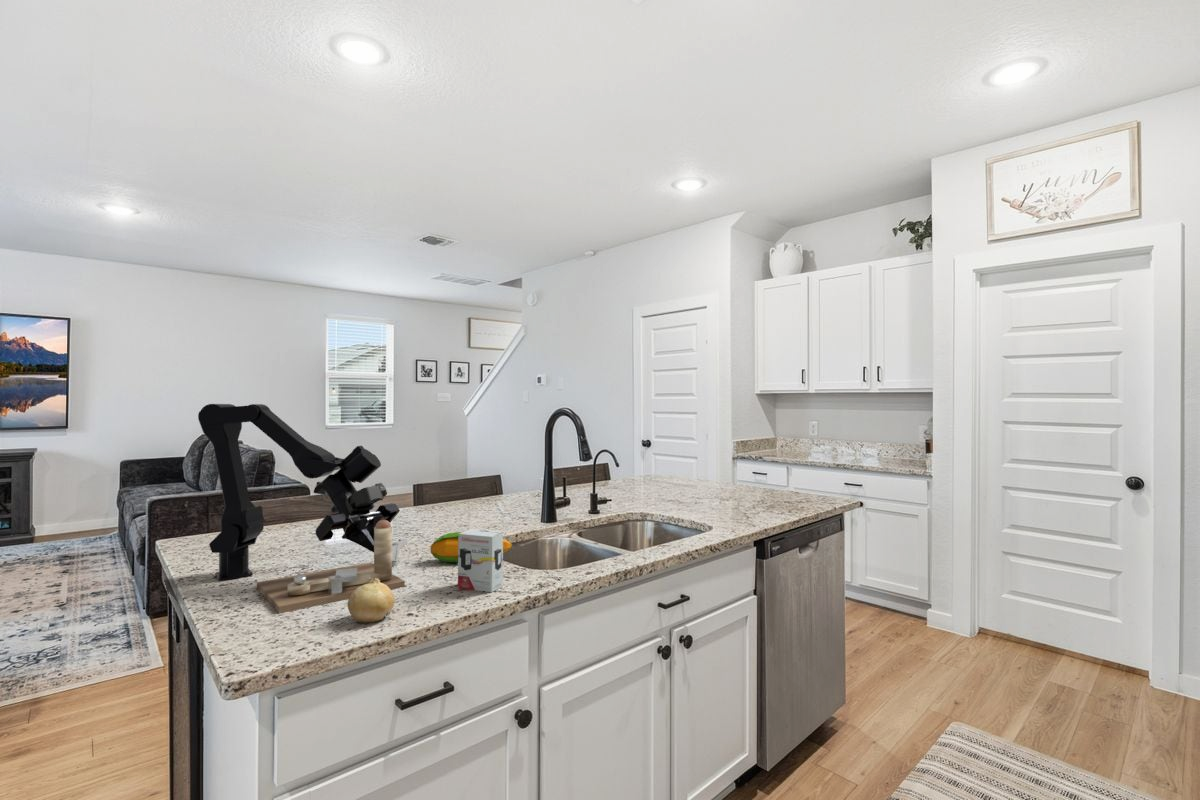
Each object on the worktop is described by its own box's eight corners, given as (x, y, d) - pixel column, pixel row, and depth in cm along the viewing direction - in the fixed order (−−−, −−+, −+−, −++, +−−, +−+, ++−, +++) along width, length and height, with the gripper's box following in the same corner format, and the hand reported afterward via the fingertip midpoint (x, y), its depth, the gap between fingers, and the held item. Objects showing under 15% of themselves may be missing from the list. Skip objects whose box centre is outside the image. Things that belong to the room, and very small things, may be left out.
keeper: (292, 593, 116) (292, 577, 116) (354, 581, 124) (354, 566, 124) (302, 602, 110) (303, 586, 110) (367, 589, 118) (367, 573, 118)
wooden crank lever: (288, 596, 113) (289, 532, 113) (286, 590, 116) (286, 528, 116) (394, 579, 124) (394, 520, 124) (389, 574, 128) (389, 517, 128)
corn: (431, 528, 147) (511, 525, 150) (432, 558, 147) (511, 553, 151) (429, 537, 139) (512, 533, 143) (429, 568, 140) (512, 563, 144)
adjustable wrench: (397, 569, 139) (397, 561, 139) (369, 571, 138) (369, 563, 138) (408, 544, 163) (408, 537, 163) (384, 545, 162) (384, 539, 162)
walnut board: (256, 588, 123) (256, 582, 123) (371, 567, 139) (371, 562, 139) (279, 613, 108) (279, 606, 108) (404, 586, 124) (404, 581, 124)
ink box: (456, 588, 123) (456, 532, 123) (469, 582, 127) (469, 528, 127) (491, 593, 120) (491, 535, 120) (503, 586, 124) (503, 531, 124)
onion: (402, 618, 105) (402, 579, 105) (358, 630, 100) (358, 589, 100) (383, 608, 111) (383, 570, 111) (340, 618, 105) (340, 579, 105)
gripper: (325, 476, 121) (361, 535, 115) (394, 468, 137) (429, 519, 132) (300, 511, 124) (334, 569, 119) (370, 499, 141) (403, 550, 135)
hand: (378, 550), depth 126 cm, fingers closed
